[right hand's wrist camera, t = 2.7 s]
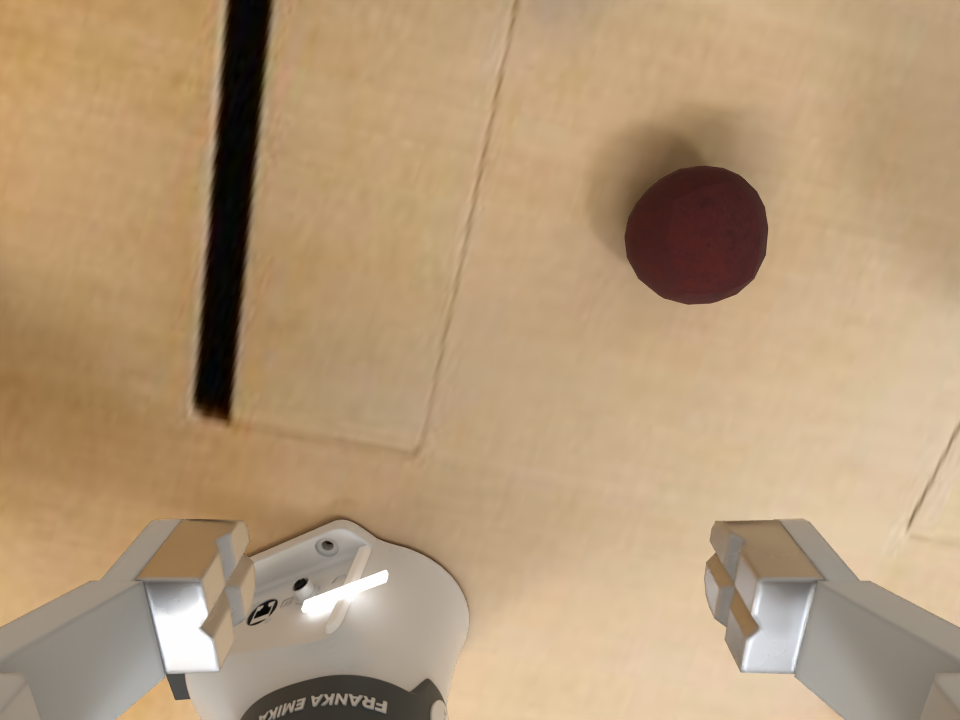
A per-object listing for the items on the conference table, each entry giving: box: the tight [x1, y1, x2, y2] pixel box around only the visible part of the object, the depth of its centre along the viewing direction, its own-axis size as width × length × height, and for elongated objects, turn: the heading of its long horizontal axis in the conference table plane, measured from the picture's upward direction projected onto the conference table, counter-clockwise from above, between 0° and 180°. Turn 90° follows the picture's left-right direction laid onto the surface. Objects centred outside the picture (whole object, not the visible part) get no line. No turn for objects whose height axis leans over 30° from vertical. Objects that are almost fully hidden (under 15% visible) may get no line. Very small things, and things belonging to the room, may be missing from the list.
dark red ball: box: [625, 166, 768, 304], centre depth 34 cm, size 7×8×7 cm
